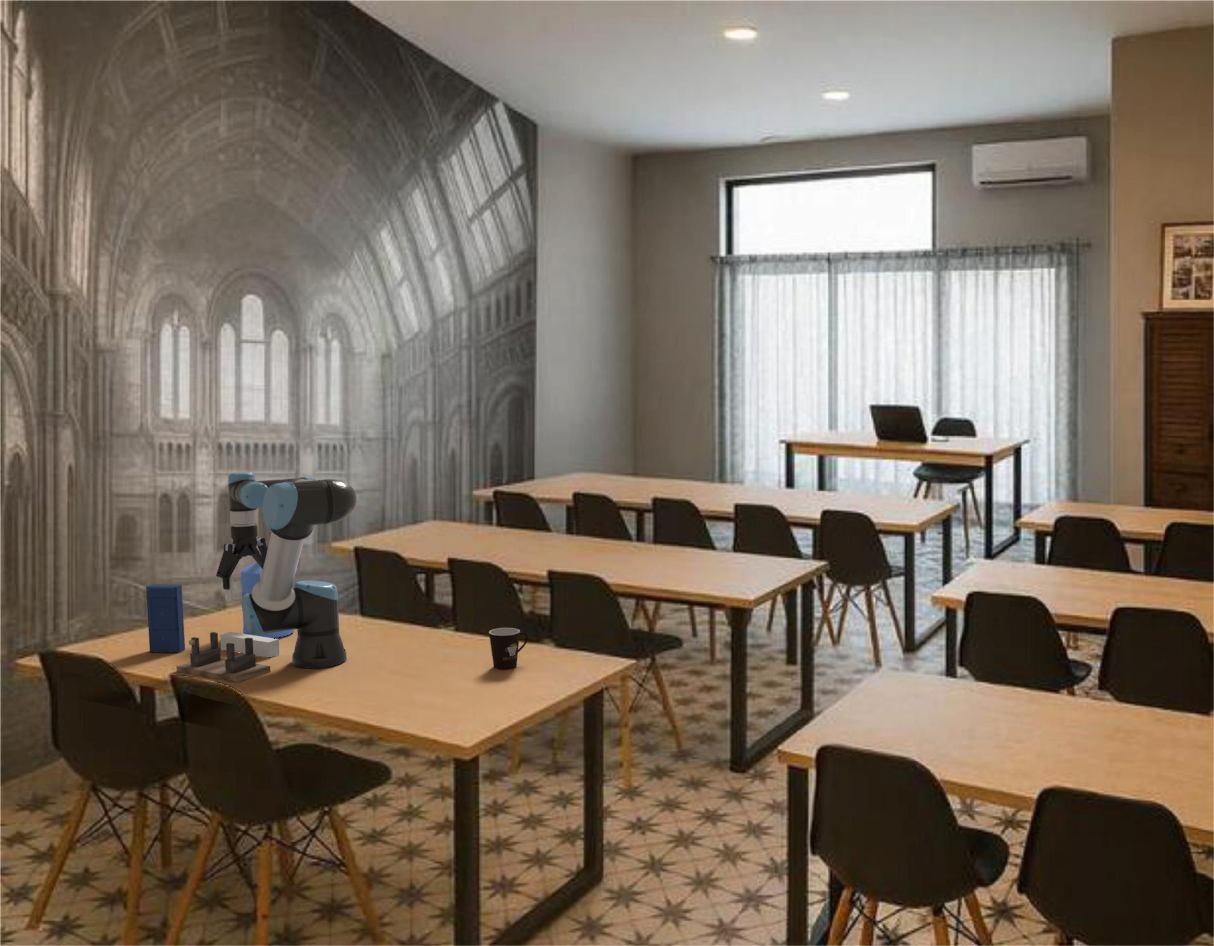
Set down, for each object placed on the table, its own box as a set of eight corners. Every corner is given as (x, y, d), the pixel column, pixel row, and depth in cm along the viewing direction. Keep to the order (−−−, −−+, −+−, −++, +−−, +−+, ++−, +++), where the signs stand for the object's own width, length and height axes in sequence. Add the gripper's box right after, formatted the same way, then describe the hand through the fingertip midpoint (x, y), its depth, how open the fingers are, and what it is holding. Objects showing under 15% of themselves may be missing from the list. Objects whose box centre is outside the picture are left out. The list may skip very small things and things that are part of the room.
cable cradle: (270, 671, 317) (268, 638, 316) (237, 682, 306) (235, 648, 305) (210, 660, 328) (209, 628, 327) (176, 671, 318) (174, 638, 317)
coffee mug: (492, 672, 313) (491, 636, 312) (487, 663, 321) (486, 629, 320) (534, 668, 316) (533, 633, 315) (527, 660, 324) (527, 626, 323)
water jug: (250, 628, 367) (246, 543, 364) (299, 627, 368) (295, 542, 365) (237, 640, 351) (233, 551, 348) (288, 639, 352) (284, 550, 349)
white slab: (279, 655, 334) (278, 639, 334) (269, 659, 331) (268, 642, 330) (231, 648, 344) (230, 631, 344) (221, 651, 341) (220, 634, 340)
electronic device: (186, 648, 343) (183, 583, 341) (178, 653, 338) (175, 587, 336) (156, 648, 344) (153, 583, 342) (148, 652, 339) (144, 587, 336)
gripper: (266, 518, 346) (270, 587, 348) (200, 529, 324) (205, 602, 326) (284, 519, 342) (288, 589, 344) (219, 531, 321) (223, 604, 323)
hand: (247, 596), depth 335 cm, fingers open, 13 cm apart
